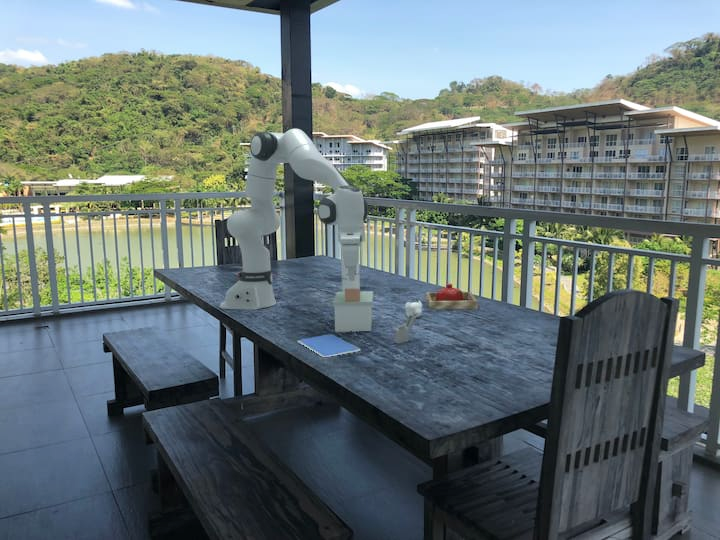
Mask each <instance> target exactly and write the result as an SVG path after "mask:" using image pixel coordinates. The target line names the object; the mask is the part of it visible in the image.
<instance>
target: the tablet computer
mask: <svg viewBox="0 0 720 540" xmlns="http://www.w3.org/2000/svg"><path fill="white" fill-rule="evenodd" d="M297 343H298V344H300V345H302V346H303V345H304V346H303V347H305V348H306V347H307V348H306V349H308V348H309V349H308V350H309V351H311V350H312V351H311V352H313V351H314V352H315V353H314V352H313V353H314V354H316V353H317V354H319V355H320V356H322V357H330V358H332V357H331V356H336V357H338V356H337V355H341V356H343V355H342V354H346V355H348V354H347V353H351V354H354V353H353V352H356V353H359V352H358V351H360V352H361V351H362V350H361V348H359V347H357V346H355V345H353V344H352V343H349V342H348V341H346V340H343V339H342V338H339V337H338V336H336V335H334V334H332V333H329V334H323V335H319V336H313V337H307V338H303V339H302V338H301V339H299V340H297ZM317 354H316V355H317ZM319 355H318V356H319ZM320 356H319V357H320ZM322 357H321V358H322Z"/></svg>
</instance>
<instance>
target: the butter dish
mask: <svg viewBox="0 0 720 540" xmlns="http://www.w3.org/2000/svg"><path fill="white" fill-rule="evenodd" d="M445 286H446V287H443V288H441V289H439V290H438V291H437V294H436V300H434V301H468V300H464V298H463V294H462V292H463V291H462V290H461V289H460V288H457V287H456V288H455V287H453V283H447V284H445Z"/></svg>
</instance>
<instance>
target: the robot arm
mask: <svg viewBox="0 0 720 540" xmlns="http://www.w3.org/2000/svg"><path fill="white" fill-rule="evenodd" d="M249 143H250V144H249V147H250V152H251V156H250V160H249V165H248V169H247V174H246V181H245V187H244V193H245V195H246V196H247V197H248V198H249V201H250V208H249V209H242V210H239V211H238V210H237V211H235V212H233V213H231V214H230V215H229V216H228V218H227V220H226V228H227V231H228V233H229V234H230V235H231V236H232V237H233V238H234V239H235V240H236V241H237V244H238V246H239V249H240V253H241V263H242V270H240V271H239V272H238V273H237V278H238V281H237V282H235V283H234V284H233V285H232V286H231V287H230V288H229V289H228V290H227V291H226V293H225V296H224V297H225V298H224V299H225V300H223V301H222V302H220V304H219V308H220V309H222V310H223V309H224V310H225V309H226V310H228V309H229V310H244V311H245V310H246V311H247V310H249V311H251V310H252V311H255V310H259V309H263V308H271V307H272V306H275V305H277V301H276V299H275V294H274V289H273V270H272V269H271V252H270V250H269V249H268V248H267V247H266V246H265V245H264V243H263V240H262V238H261V237H262V236H268V235H271V234H273V233H275V232H277V230H279V228H280V226H281V217H280V215H279V213H278V212H277V211H276V208H275V203H274V195H275V187H276V181H277V180H276V179H277V172H278V167H279V166H280V164H285V165H290V167H291V169H292V171H293V172H294V173H295V174H296V175H297V176H298V177H300V178H301V179H304V180H309V181H313V182H318V183H321V184H324V185H327V186H328V187H329V188H331V189H332V190H333V192H334V193H332V194H331V195H328V196H326V197H323V198H322V199H321V200H320V201H319V203H318V205H317V216H318V218H319V220H320V222H322V223H323V224H324V225H326V226H327V225H328V226H335V225H336V226H337V241H338V243H339V244H340V245H341V244H342V251H343V258H344V265H345V268H348V273H349V280H350V281H354V280H355V275H356V267H357V263H358V260H359V261H360V247H362V243H363V242H365V241H366V232H365V230H366V229H365V228H366V227H365V226H366V225H365V221H366V219H367V217H368V215H369V212H370V211H369V210H370V209H369V204H368V201H367V199H366V198H365V197H364V195H363V192H362V190H361V188H359V186H356V185H355V186H354V185H351V183H350V182H349V181H348V180H347V178H346V177H345V176H344V175H343V173H342V172H341V171H340V170H339V169H338V167H336V165H334V164H333V163H331V161H329V160H327V158H325V157H324V156H323V155H322V154H321V153H320V151H319V150H318V148H317V146H316V145H315V144H314V142H313V140H312V139H311V138H310V137H309V136H308V135H307V133H305V131H303V130H302V129H300V128H290V129H289V130H287V131H286V132H274V131H271V132H269V131H259V132H256V133H254V135H253V136H252V137H251V140H250V142H249Z"/></svg>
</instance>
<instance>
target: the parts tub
mask: <svg viewBox="0 0 720 540" xmlns="http://www.w3.org/2000/svg"><path fill="white" fill-rule="evenodd" d="M333 307H334V331H335V333H347V332H348V333H350V331H352V332H353V333H359V331H371V332H372V325H373V305H372V306H333ZM356 331H357V332H356ZM352 332H351V333H352Z"/></svg>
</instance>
